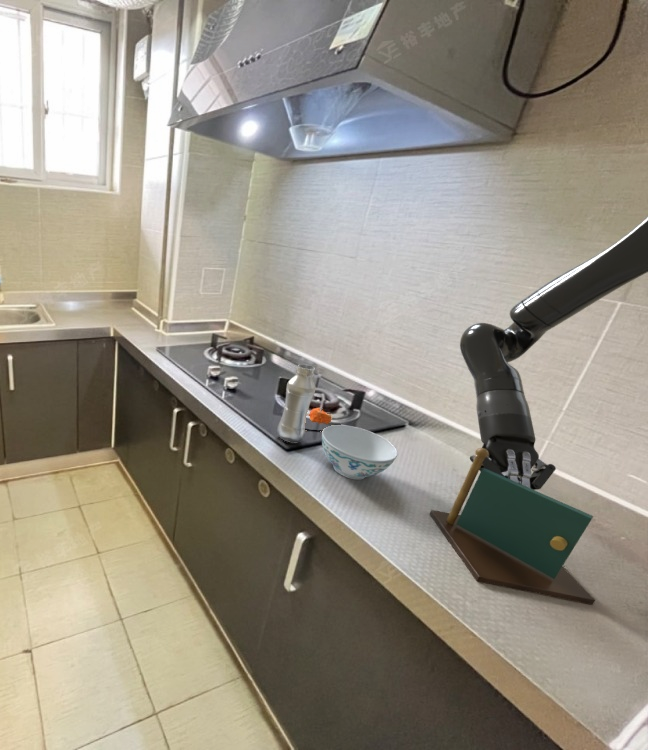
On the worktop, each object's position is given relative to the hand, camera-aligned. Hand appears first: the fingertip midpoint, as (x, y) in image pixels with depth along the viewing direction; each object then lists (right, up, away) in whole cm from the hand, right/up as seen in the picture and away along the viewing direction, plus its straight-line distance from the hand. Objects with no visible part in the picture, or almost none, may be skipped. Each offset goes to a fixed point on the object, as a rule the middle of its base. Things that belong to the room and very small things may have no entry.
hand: (520, 513), depth 67 cm
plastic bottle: (-28, +7, +32) cm, 44 cm away
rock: (-16, +10, +44) cm, 48 cm away
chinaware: (-19, +2, +21) cm, 28 cm away
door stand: (-3, -7, +1) cm, 8 cm away
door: (-4, -6, -1) cm, 7 cm away
